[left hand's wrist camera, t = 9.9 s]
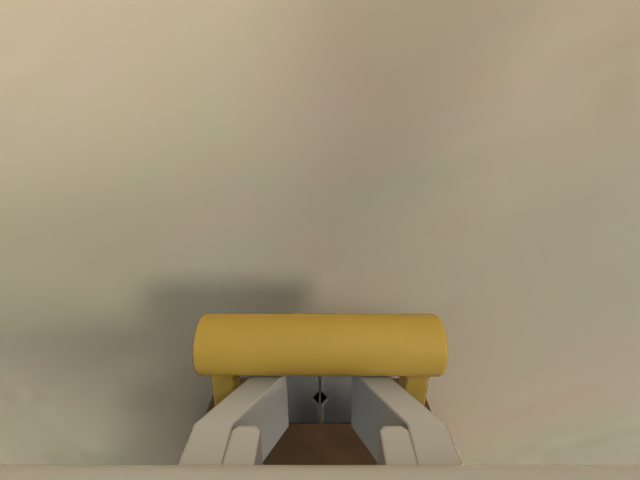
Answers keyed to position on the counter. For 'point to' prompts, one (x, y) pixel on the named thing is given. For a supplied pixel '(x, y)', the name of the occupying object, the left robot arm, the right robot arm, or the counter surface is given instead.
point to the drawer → (319, 366)
